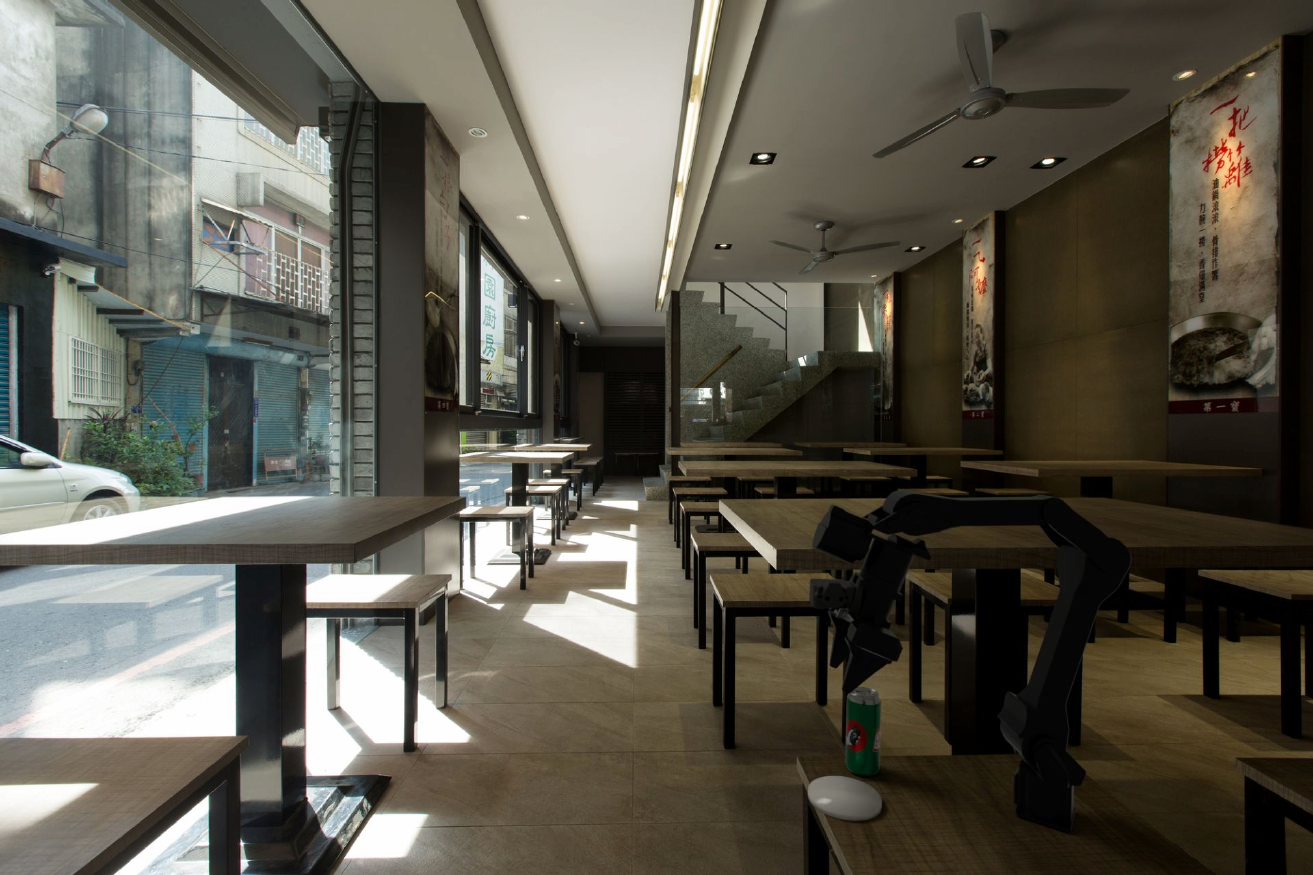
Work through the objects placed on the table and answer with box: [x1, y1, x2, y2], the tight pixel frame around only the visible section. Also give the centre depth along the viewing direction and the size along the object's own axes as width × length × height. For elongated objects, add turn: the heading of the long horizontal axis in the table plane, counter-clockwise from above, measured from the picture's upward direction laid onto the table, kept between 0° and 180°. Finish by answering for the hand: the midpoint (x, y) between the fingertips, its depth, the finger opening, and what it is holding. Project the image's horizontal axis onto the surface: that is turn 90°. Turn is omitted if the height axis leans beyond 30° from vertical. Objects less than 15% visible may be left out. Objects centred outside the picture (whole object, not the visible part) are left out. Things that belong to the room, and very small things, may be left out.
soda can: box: [844, 686, 882, 777], centre depth 102 cm, size 5×5×12 cm
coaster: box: [807, 775, 883, 822], centre depth 93 cm, size 10×10×1 cm
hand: (838, 679), depth 93 cm, fingers open, 9 cm apart
